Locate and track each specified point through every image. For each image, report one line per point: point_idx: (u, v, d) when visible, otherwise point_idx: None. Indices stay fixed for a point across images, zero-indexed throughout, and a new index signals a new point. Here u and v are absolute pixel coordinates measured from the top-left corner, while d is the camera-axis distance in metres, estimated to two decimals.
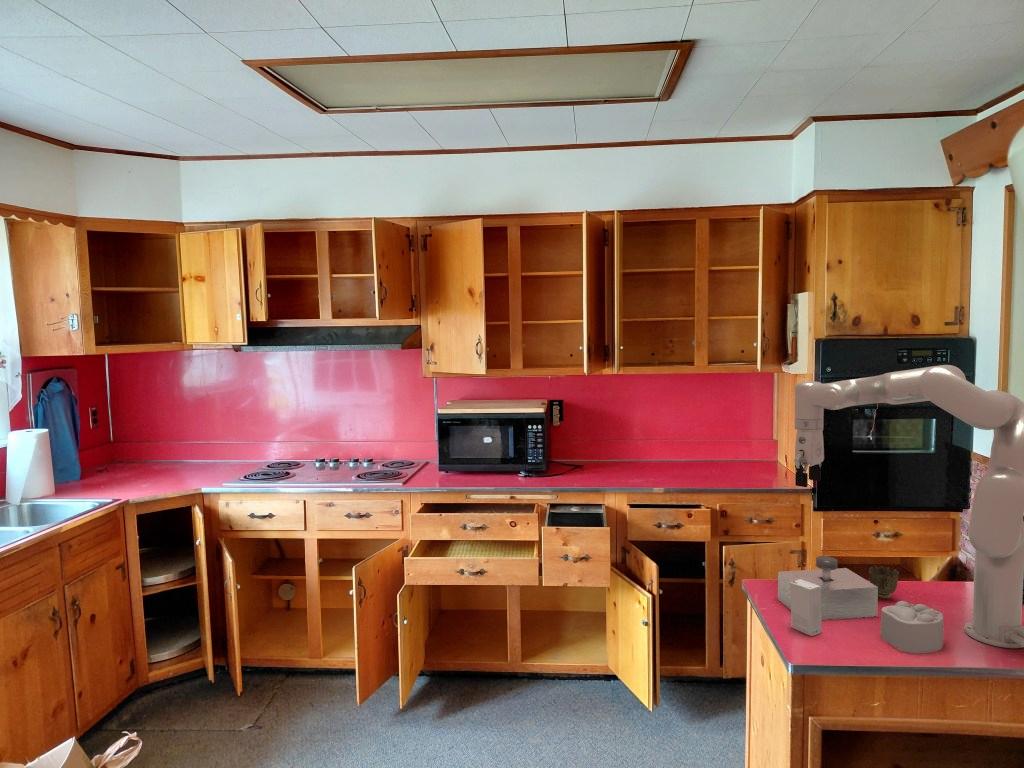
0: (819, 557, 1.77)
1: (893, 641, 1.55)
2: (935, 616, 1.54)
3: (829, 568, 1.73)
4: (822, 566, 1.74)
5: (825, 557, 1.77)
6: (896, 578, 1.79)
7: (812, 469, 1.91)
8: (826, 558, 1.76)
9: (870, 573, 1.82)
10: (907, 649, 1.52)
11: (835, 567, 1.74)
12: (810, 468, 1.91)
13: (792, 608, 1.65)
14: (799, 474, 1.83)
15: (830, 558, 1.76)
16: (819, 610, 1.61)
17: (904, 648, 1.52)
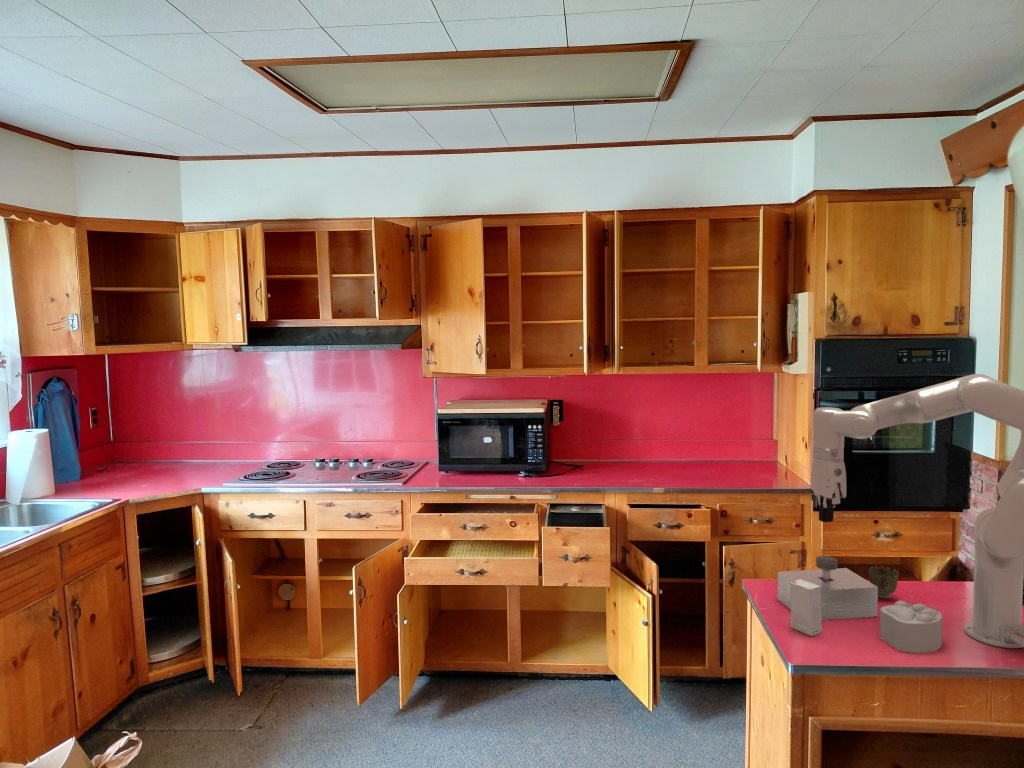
0: (819, 557, 1.77)
1: (892, 641, 1.55)
2: (934, 616, 1.54)
3: (829, 568, 1.73)
4: (822, 566, 1.74)
5: (825, 557, 1.77)
6: (896, 578, 1.79)
7: None
8: (826, 558, 1.76)
9: (870, 573, 1.82)
10: (906, 649, 1.52)
11: (835, 567, 1.74)
12: None
13: (792, 608, 1.65)
14: (828, 509, 1.73)
15: (830, 558, 1.76)
16: (819, 610, 1.61)
17: (903, 648, 1.52)
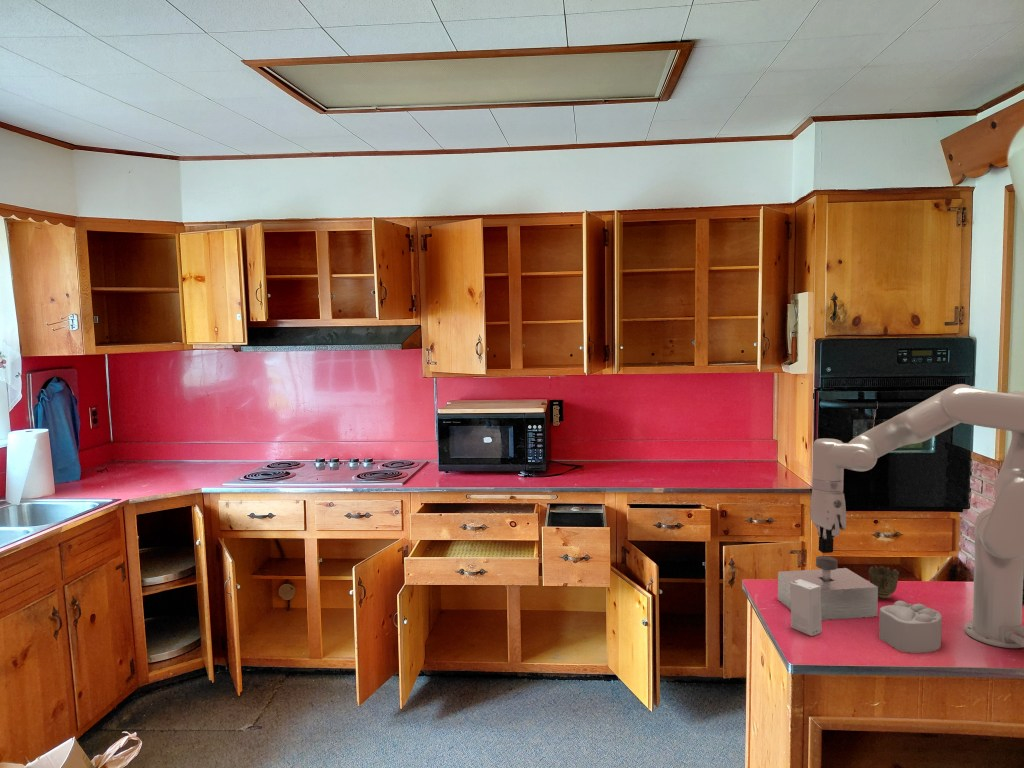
0: (819, 557, 1.77)
1: (891, 641, 1.55)
2: (933, 616, 1.54)
3: (829, 568, 1.73)
4: (822, 566, 1.74)
5: (825, 557, 1.77)
6: (896, 578, 1.79)
7: None
8: (826, 558, 1.76)
9: (870, 573, 1.82)
10: (905, 649, 1.52)
11: (835, 567, 1.74)
12: None
13: (792, 608, 1.65)
14: (828, 540, 1.74)
15: (830, 558, 1.76)
16: (819, 610, 1.61)
17: (903, 648, 1.52)
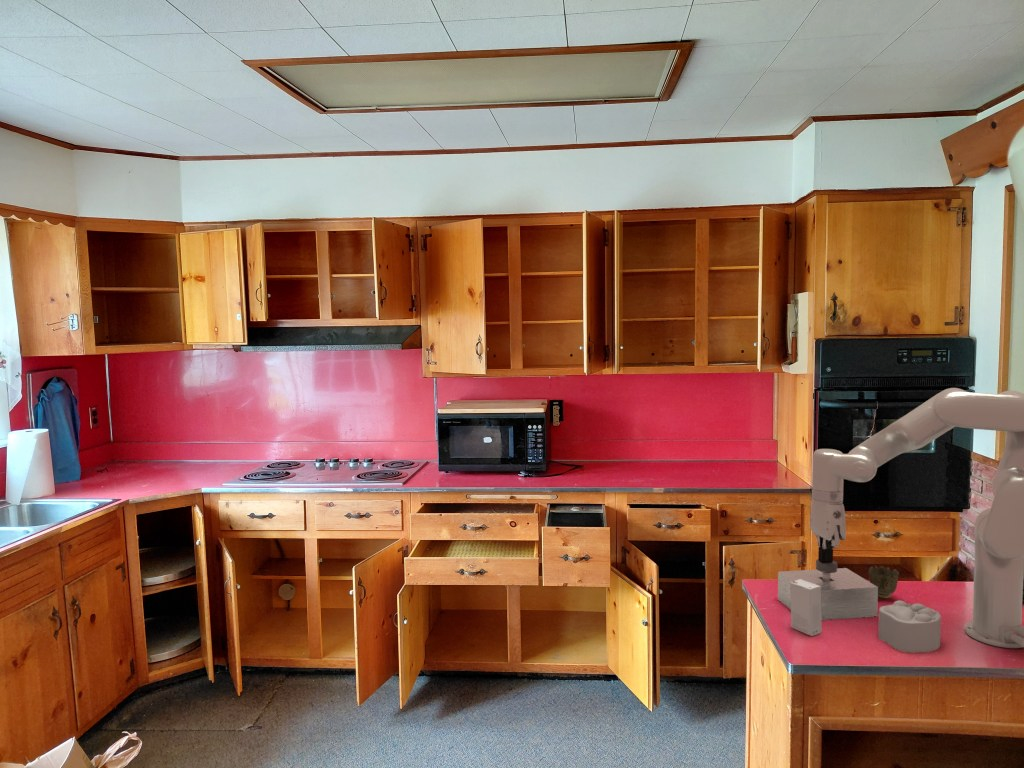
0: None
1: (891, 640, 1.55)
2: (932, 615, 1.54)
3: (829, 571, 1.73)
4: (822, 569, 1.74)
5: None
6: (896, 578, 1.79)
7: None
8: None
9: (870, 573, 1.82)
10: (905, 649, 1.52)
11: (835, 570, 1.74)
12: None
13: (792, 608, 1.65)
14: (828, 551, 1.74)
15: None
16: (819, 610, 1.61)
17: (902, 648, 1.52)
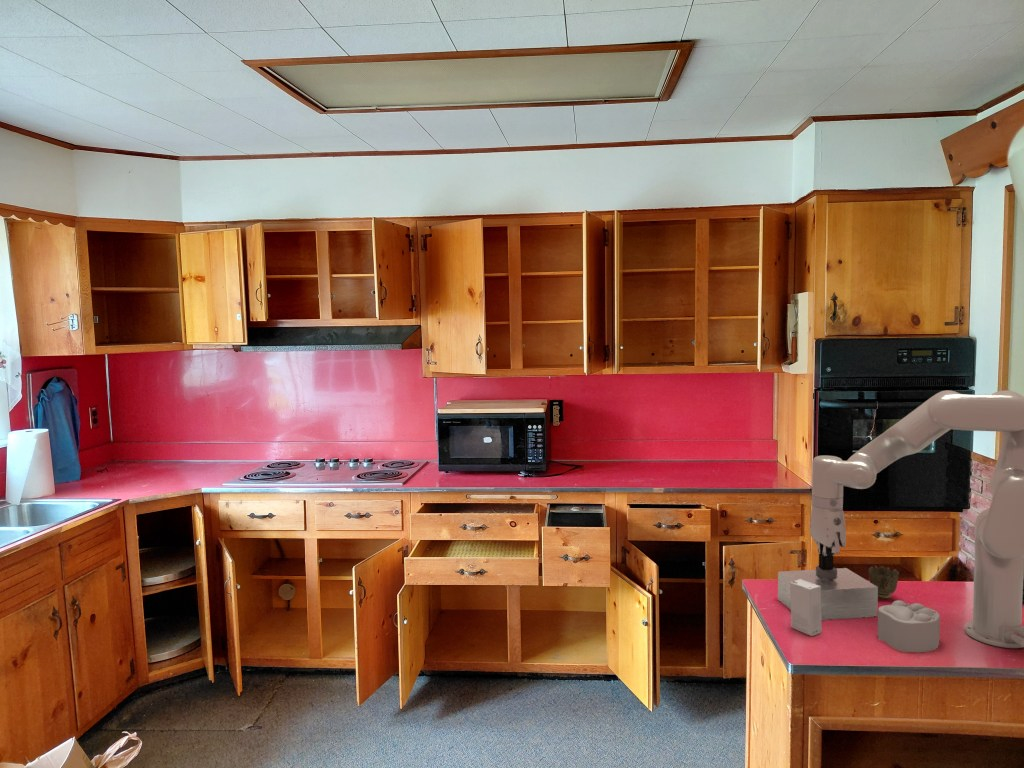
0: None
1: (890, 640, 1.55)
2: (931, 615, 1.54)
3: (829, 578, 1.73)
4: (822, 576, 1.74)
5: None
6: (896, 578, 1.79)
7: None
8: None
9: (870, 573, 1.82)
10: (904, 648, 1.52)
11: (835, 577, 1.74)
12: None
13: (792, 608, 1.65)
14: (828, 557, 1.74)
15: None
16: (819, 610, 1.61)
17: (901, 647, 1.52)
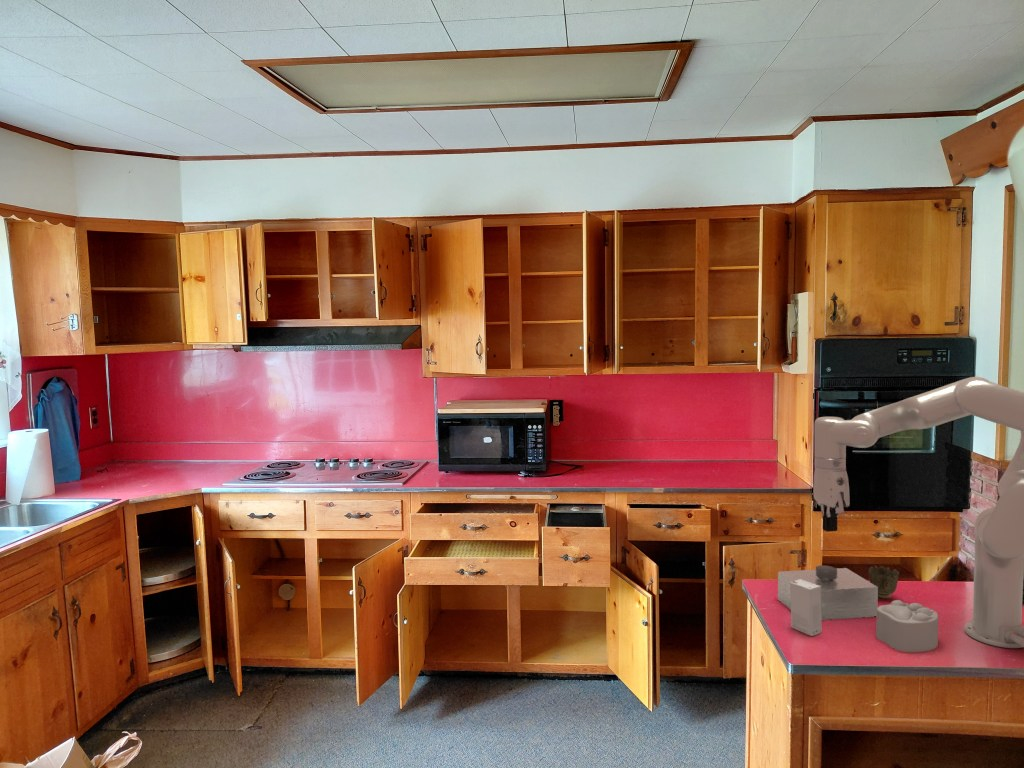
0: (819, 566, 1.77)
1: (889, 640, 1.55)
2: (930, 615, 1.54)
3: (829, 578, 1.73)
4: (822, 576, 1.74)
5: (824, 566, 1.78)
6: (896, 578, 1.79)
7: None
8: (826, 567, 1.77)
9: (870, 573, 1.82)
10: (903, 648, 1.52)
11: (835, 577, 1.74)
12: None
13: (792, 608, 1.65)
14: (832, 519, 1.73)
15: (830, 567, 1.76)
16: (819, 610, 1.61)
17: (900, 647, 1.52)
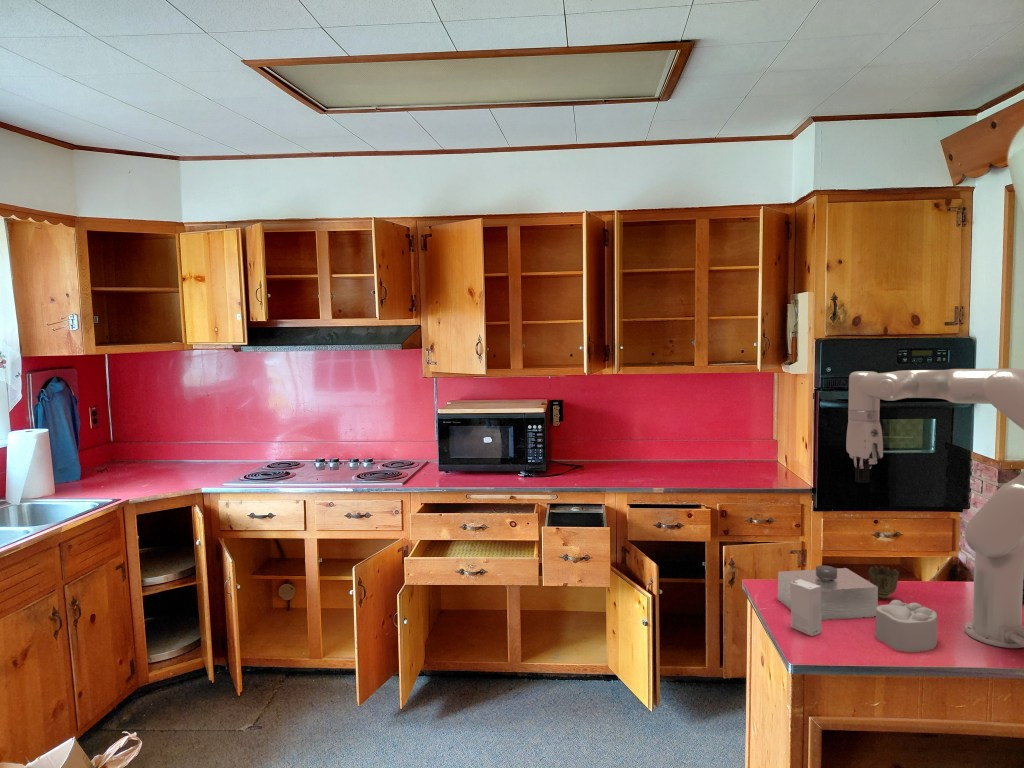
0: (819, 566, 1.77)
1: (888, 640, 1.55)
2: (929, 614, 1.55)
3: (829, 578, 1.73)
4: (822, 576, 1.74)
5: (824, 566, 1.78)
6: (896, 578, 1.79)
7: None
8: (826, 567, 1.77)
9: (870, 573, 1.82)
10: (902, 648, 1.52)
11: (835, 577, 1.74)
12: None
13: (792, 608, 1.65)
14: (865, 470, 1.78)
15: (830, 567, 1.76)
16: (819, 610, 1.61)
17: (899, 647, 1.52)
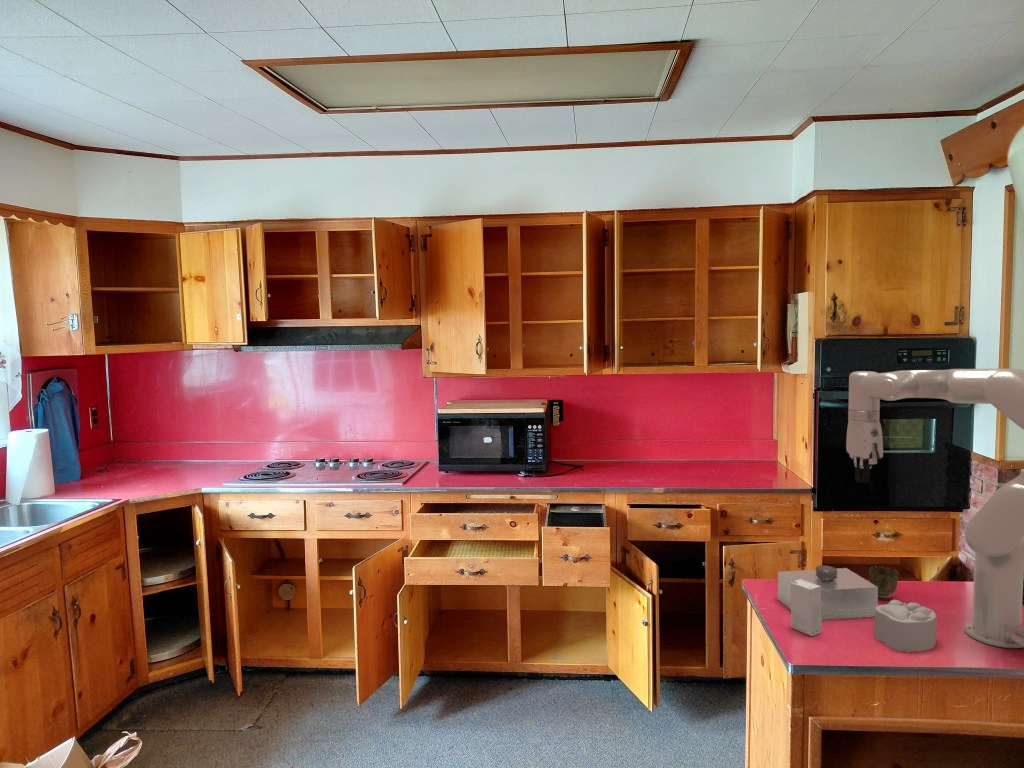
0: (819, 566, 1.77)
1: (887, 640, 1.55)
2: (928, 614, 1.55)
3: (829, 578, 1.73)
4: (822, 576, 1.74)
5: (824, 566, 1.78)
6: (896, 578, 1.79)
7: None
8: (826, 567, 1.77)
9: (870, 573, 1.82)
10: (901, 648, 1.52)
11: (835, 577, 1.74)
12: None
13: (792, 608, 1.65)
14: (865, 470, 1.78)
15: (830, 567, 1.76)
16: (819, 610, 1.61)
17: (898, 647, 1.53)
